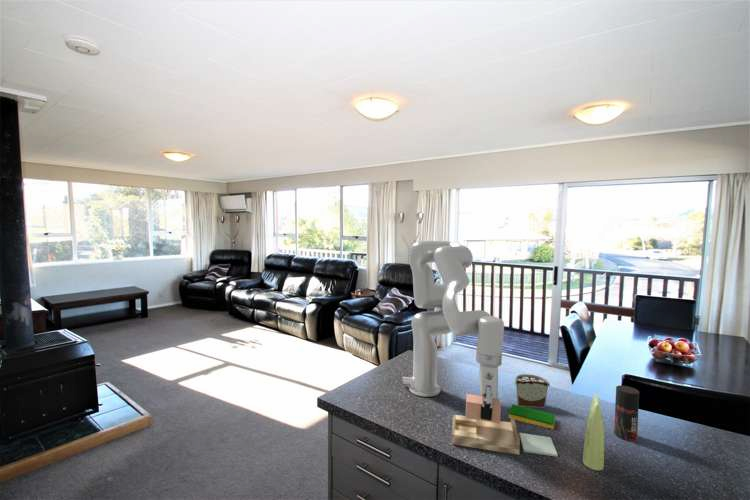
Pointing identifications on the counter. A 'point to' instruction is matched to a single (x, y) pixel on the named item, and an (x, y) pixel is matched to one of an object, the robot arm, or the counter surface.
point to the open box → (486, 434)
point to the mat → (538, 444)
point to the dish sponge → (532, 416)
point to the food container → (531, 390)
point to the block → (475, 408)
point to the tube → (594, 438)
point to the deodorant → (626, 413)
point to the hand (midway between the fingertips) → (485, 413)
